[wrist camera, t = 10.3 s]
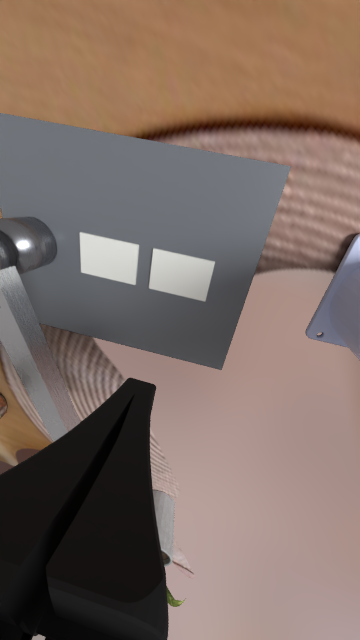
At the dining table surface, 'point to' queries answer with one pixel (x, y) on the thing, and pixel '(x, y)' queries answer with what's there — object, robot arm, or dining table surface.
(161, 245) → the label panel
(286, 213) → the dining table surface
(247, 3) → the dining table surface
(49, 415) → the swing bar
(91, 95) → the dining table surface
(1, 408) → the sauce bottle
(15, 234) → the grooved metal knob
